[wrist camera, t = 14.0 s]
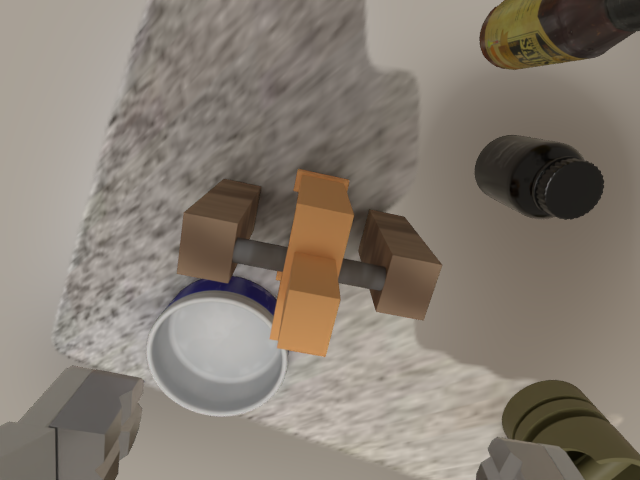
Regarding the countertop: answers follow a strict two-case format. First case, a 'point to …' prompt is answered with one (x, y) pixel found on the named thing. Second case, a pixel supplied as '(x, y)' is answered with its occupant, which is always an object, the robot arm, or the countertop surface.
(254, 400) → the dog bowl
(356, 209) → the countertop surface
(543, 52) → the sauce bottle
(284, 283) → the orange stepped block
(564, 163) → the supplement bottle
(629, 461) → the piston
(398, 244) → the crossbar stand
